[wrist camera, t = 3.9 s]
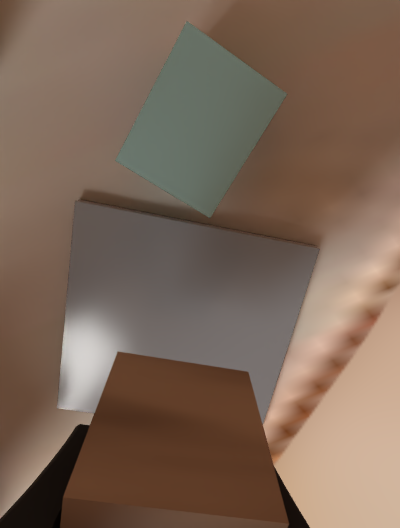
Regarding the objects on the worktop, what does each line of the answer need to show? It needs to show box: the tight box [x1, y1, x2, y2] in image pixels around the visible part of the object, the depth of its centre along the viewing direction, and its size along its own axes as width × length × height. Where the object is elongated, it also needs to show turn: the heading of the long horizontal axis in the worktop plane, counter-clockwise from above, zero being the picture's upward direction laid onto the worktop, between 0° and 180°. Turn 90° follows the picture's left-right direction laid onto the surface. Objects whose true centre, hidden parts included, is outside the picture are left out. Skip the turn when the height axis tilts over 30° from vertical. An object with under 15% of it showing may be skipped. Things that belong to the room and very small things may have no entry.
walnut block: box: [60, 352, 289, 528], centre depth 10 cm, size 4×4×5 cm
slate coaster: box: [57, 199, 320, 424], centre depth 18 cm, size 12×12×1 cm
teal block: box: [115, 22, 287, 218], centre depth 14 cm, size 5×4×4 cm
